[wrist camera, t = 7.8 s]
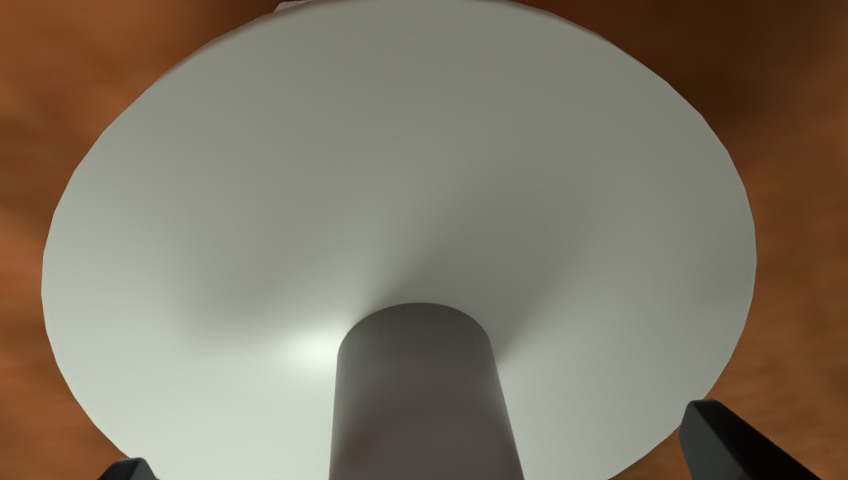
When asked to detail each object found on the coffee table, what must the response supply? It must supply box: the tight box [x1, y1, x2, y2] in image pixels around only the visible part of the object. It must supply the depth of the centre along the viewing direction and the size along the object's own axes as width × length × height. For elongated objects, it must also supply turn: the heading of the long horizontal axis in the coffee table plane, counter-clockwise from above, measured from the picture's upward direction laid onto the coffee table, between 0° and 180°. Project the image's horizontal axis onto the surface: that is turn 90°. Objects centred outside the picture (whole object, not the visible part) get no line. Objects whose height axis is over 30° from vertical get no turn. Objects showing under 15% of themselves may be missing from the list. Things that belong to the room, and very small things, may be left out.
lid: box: [41, 0, 757, 480], centre depth 9 cm, size 13×13×5 cm
